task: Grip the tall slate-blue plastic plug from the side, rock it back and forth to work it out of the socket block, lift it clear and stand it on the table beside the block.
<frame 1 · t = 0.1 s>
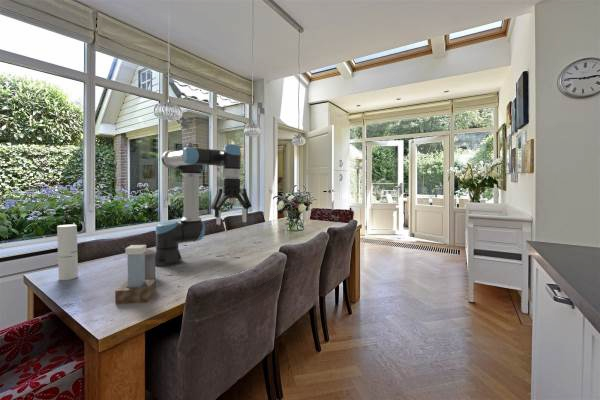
hand: (231, 223, 135), 28 cm above the table, tool pointing down, fingers open, 13 cm apart
plug: (136, 297, 113), point 1 cm above the table, touching socket block
socket block: (136, 299, 113), on the table
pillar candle: (144, 280, 134), on the table
cylindrical container: (68, 277, 136), on the table
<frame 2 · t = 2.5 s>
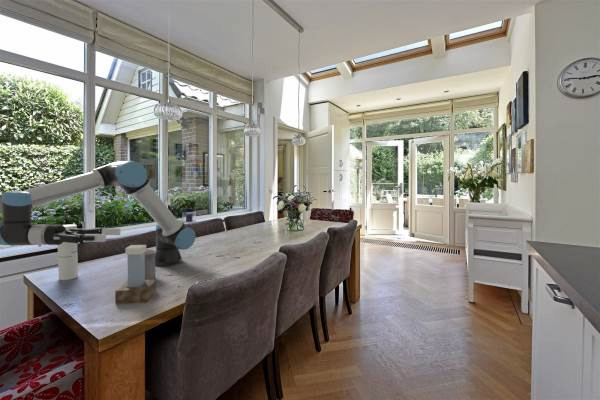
hand: (113, 234, 110), 26 cm above the table, tool horizontal, fingers open, 13 cm apart
nothing on the table moved.
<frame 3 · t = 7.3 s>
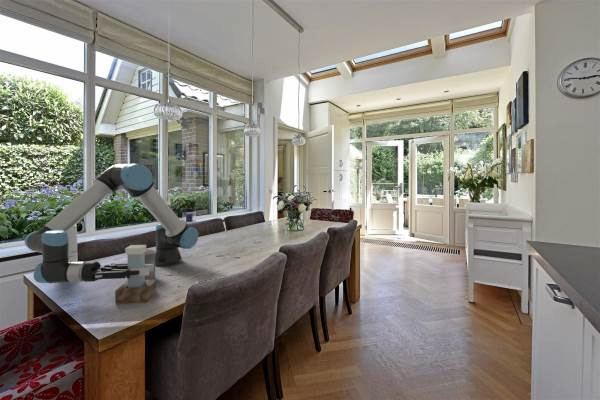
hand: (151, 269, 114), 12 cm above the table, tool horizontal, fingers closed on plug, 5 cm apart
plug: (136, 297, 113), point 1 cm above the table, touching gripper, socket block
everything else where it was.
when the fingers open (12 cm above the table, at t = 14.2 s): plug stays where it is, on the table.
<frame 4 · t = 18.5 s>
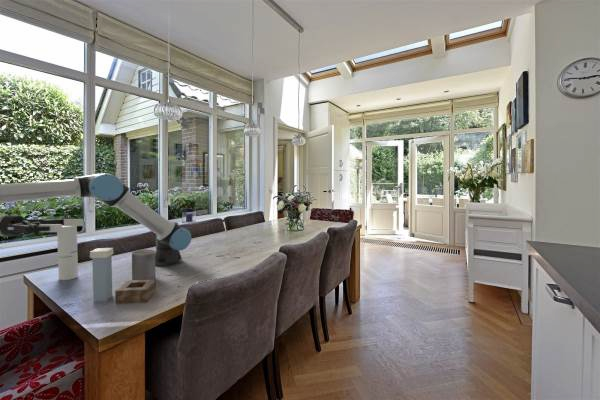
hand: (73, 225, 107), 30 cm above the table, tool horizontal, fingers open, 13 cm apart
plug: (103, 301, 111), on the table
everything else where it was.
at the end: plug inside the target area (0.2 cm from its centre), on the table; plug tilted 0°; plug touching table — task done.
